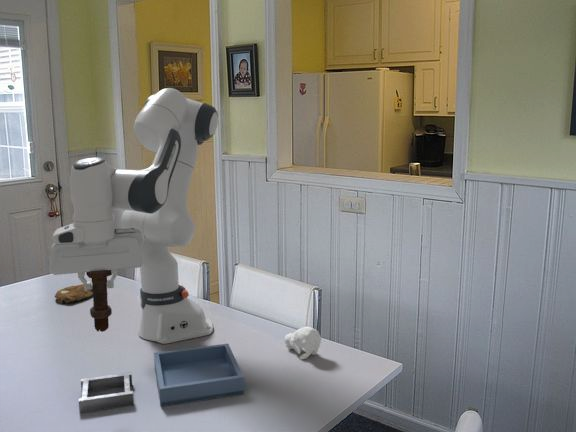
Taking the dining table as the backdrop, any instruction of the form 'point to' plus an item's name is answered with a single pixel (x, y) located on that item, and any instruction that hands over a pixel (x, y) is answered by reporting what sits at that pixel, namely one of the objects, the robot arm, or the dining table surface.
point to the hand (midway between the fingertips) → (99, 288)
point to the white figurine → (304, 341)
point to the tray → (197, 374)
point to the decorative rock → (72, 294)
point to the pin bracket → (106, 400)
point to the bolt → (100, 299)
